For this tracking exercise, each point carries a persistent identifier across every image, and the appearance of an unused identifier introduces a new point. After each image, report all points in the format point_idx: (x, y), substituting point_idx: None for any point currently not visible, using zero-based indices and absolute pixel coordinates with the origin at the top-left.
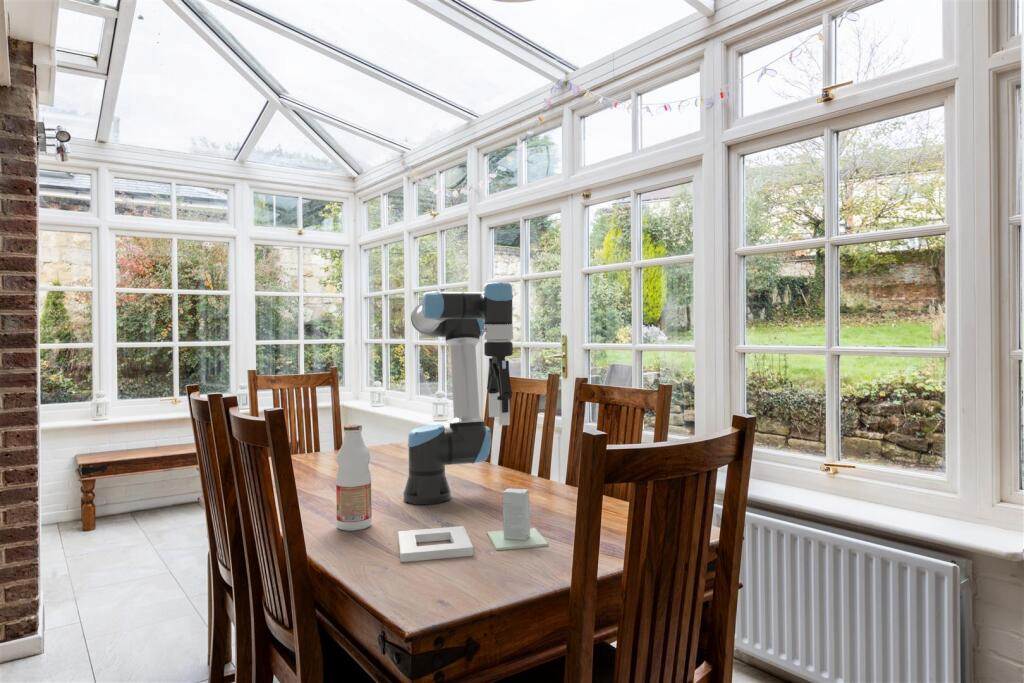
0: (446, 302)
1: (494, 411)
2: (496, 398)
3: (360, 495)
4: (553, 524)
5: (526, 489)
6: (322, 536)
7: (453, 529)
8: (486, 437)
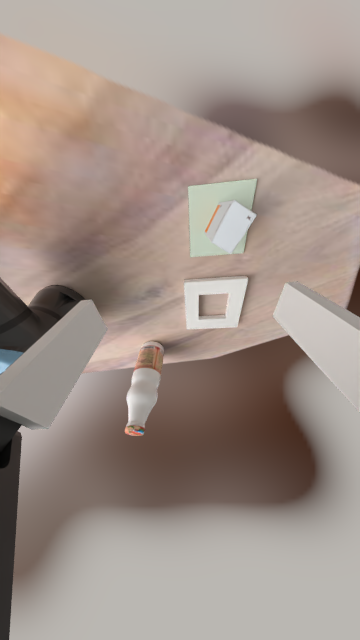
0: None
1: (90, 327)
2: (41, 373)
3: (159, 365)
4: (165, 139)
5: (233, 205)
6: (172, 359)
7: (192, 291)
8: None
